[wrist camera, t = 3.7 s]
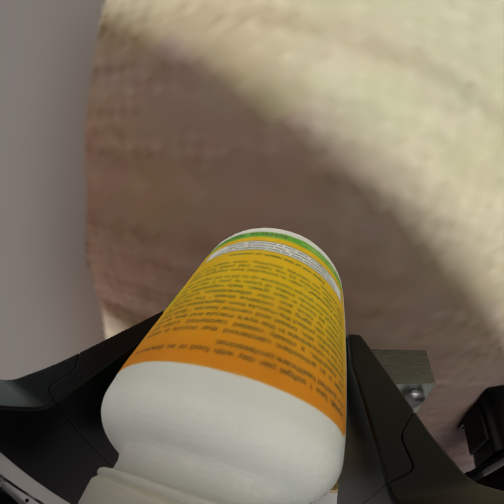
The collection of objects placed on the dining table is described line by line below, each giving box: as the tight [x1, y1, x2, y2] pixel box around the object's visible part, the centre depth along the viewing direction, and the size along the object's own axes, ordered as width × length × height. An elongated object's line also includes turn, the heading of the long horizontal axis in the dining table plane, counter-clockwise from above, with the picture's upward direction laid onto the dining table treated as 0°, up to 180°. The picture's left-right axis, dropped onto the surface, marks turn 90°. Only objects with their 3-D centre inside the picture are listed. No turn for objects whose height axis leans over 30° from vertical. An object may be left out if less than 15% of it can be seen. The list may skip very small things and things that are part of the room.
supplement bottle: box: [78, 228, 347, 504], centre depth 7 cm, size 5×5×10 cm
